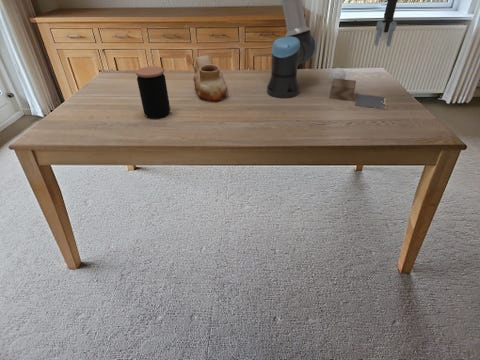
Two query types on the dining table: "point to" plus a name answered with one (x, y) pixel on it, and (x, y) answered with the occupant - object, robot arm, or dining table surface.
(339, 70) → the geometric ball
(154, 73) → the coffee jar
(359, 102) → the mat
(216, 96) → the ceramic vessel
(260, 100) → the dining table surface
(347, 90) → the pedestal
